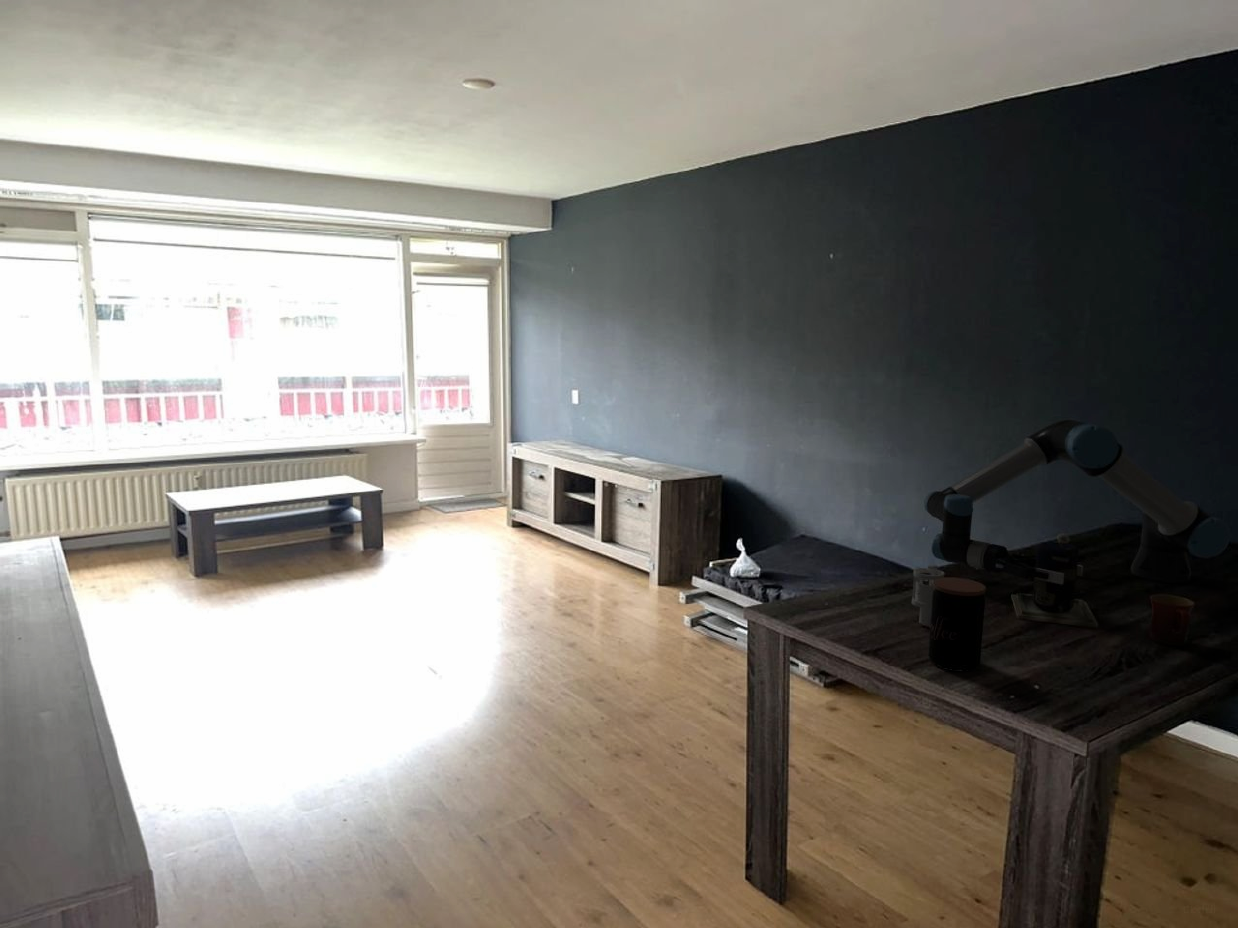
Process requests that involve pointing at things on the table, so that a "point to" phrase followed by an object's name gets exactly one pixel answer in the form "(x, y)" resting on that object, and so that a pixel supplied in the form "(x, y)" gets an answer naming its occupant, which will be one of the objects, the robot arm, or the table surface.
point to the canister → (1056, 560)
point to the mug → (1170, 619)
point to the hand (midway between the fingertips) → (1072, 575)
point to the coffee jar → (956, 623)
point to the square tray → (1053, 612)
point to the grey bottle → (925, 591)
